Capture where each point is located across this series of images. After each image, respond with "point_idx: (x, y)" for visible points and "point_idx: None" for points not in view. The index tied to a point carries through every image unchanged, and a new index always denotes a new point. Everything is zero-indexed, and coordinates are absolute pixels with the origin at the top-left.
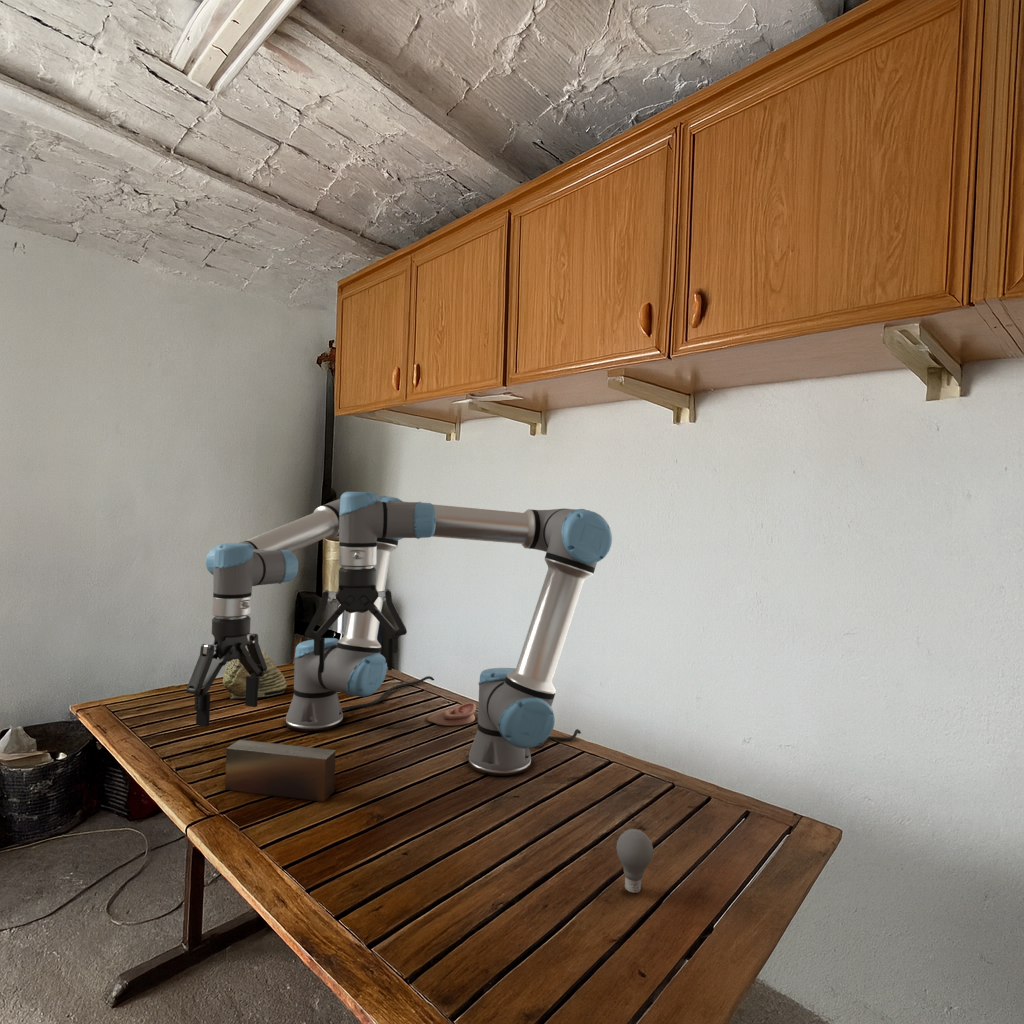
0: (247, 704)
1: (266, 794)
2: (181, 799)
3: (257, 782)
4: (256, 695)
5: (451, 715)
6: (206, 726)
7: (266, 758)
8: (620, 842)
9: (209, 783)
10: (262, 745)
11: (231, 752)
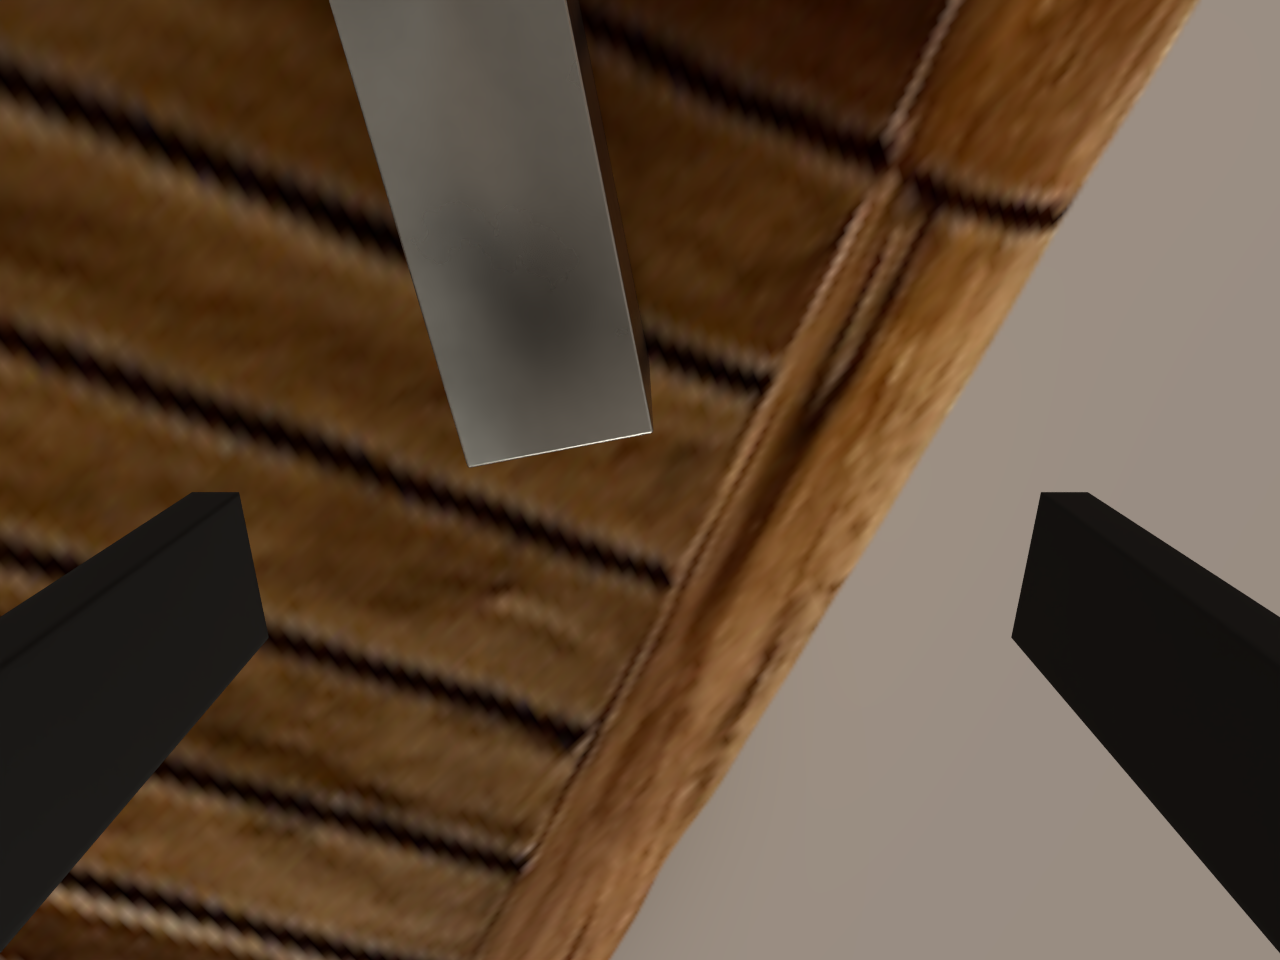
0: (253, 614)
1: (592, 72)
2: (826, 479)
3: (603, 139)
4: (110, 563)
5: None
6: (1086, 494)
7: (575, 32)
8: None
9: (624, 493)
10: (463, 190)
11: (644, 379)
